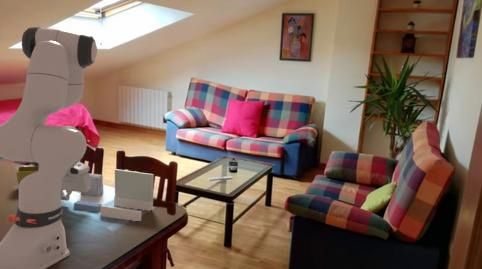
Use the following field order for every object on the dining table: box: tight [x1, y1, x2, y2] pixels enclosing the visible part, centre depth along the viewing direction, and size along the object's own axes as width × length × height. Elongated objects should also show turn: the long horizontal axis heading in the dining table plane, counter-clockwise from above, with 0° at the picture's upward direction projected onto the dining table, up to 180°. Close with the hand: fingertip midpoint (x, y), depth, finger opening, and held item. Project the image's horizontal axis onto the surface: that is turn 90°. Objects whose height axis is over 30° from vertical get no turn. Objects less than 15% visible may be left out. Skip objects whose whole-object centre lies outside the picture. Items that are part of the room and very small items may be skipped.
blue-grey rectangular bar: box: [73, 200, 103, 212], centre depth 153 cm, size 3×10×2 cm, turn 81°
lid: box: [114, 168, 155, 203], centre depth 156 cm, size 12×16×1 cm
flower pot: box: [16, 165, 39, 185], centre depth 168 cm, size 9×9×9 cm
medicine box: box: [80, 172, 104, 197], centre depth 168 cm, size 8×4×9 cm, turn 84°
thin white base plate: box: [99, 195, 154, 222], centre depth 152 cm, size 12×16×4 cm
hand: (64, 199), depth 154 cm, fingers closed
